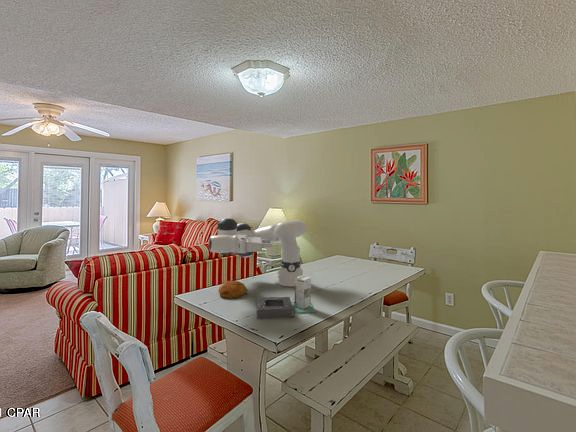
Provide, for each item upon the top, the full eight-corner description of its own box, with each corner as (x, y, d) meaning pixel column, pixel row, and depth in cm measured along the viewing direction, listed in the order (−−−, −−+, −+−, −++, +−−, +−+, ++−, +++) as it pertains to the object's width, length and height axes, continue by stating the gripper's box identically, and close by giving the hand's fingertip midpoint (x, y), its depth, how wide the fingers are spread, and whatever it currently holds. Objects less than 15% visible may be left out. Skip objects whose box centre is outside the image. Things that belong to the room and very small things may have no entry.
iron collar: (257, 305, 151) (257, 297, 151) (289, 304, 152) (289, 296, 152) (256, 318, 135) (256, 309, 135) (292, 317, 136) (293, 308, 136)
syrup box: (301, 303, 153) (301, 275, 152) (310, 306, 149) (311, 277, 148) (294, 306, 148) (294, 277, 147) (303, 309, 144) (304, 279, 143)
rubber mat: (290, 302, 155) (290, 301, 155) (310, 302, 156) (310, 301, 156) (293, 313, 141) (293, 312, 141) (315, 312, 142) (315, 311, 142)
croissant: (226, 292, 176) (225, 278, 176) (251, 292, 171) (249, 277, 171) (212, 300, 163) (211, 285, 163) (238, 299, 158) (236, 284, 158)
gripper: (243, 246, 159) (269, 246, 161) (241, 254, 139) (272, 253, 140) (243, 234, 159) (270, 234, 160) (241, 240, 138) (272, 240, 140)
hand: (271, 243), depth 150 cm, fingers open, 8 cm apart
